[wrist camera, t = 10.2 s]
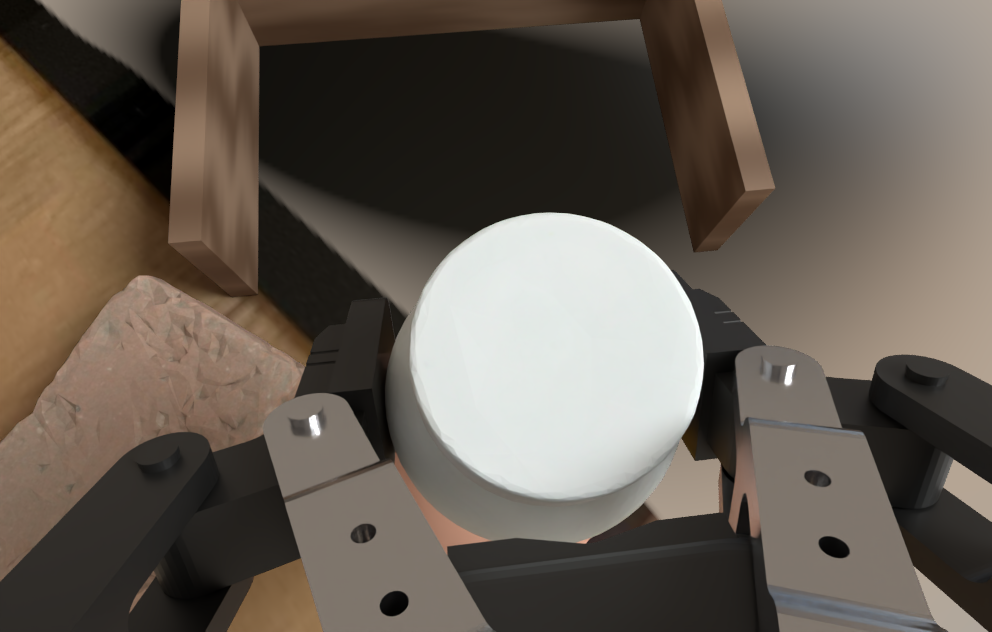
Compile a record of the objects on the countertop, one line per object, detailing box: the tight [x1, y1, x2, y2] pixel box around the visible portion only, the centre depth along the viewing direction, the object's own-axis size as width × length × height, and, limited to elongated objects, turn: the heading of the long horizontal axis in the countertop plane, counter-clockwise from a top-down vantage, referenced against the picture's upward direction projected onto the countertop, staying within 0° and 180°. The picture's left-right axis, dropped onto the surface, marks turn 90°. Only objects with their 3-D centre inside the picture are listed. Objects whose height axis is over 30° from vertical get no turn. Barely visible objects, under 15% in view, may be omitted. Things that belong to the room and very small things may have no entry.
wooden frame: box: [168, 0, 775, 297], centre depth 28 cm, size 16×23×6 cm, turn 97°
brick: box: [0, 275, 305, 613], centre depth 23 cm, size 17×8×5 cm, turn 150°
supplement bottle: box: [385, 213, 704, 543], centre depth 12 cm, size 5×5×10 cm
